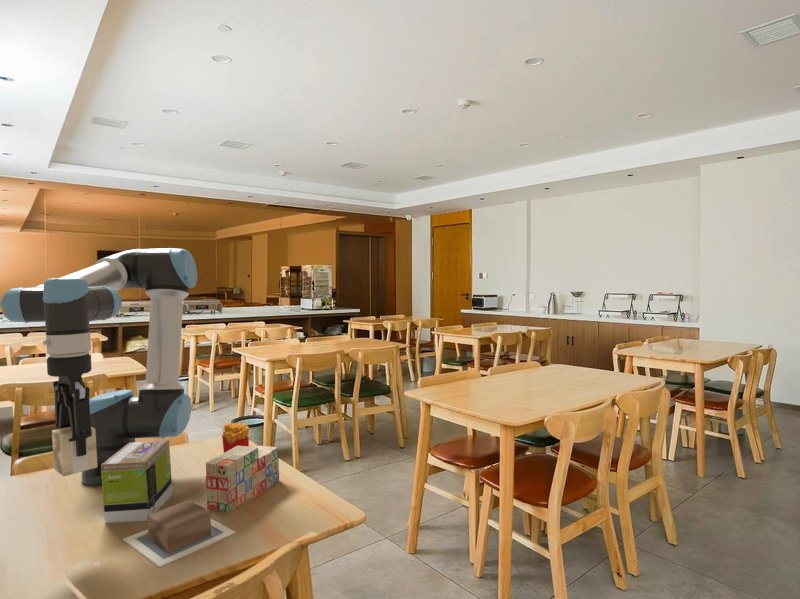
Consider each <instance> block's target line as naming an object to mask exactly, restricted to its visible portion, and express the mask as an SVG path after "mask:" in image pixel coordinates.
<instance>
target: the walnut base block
mask: <svg viewBox="0 0 800 599" xmlns="http://www.w3.org/2000/svg"><path fill="white" fill-rule="evenodd" d="M211 519H212V517H211V510H210V509H209V510H208V509H207V508H206V507H204V506H201V505H199V504H197V503H195V502H194V501H192V500H190V499H188V500H185V501H181V502H179V503H177V504H174V505H171V506H169V507H166V508H163V509H159V510H158V511H157V512H154V513H152V514H149V515H147V520H148V521H147V529H148V539H150V540H151V541H152V542H154V543H155V544H157V545H158V546H160V547H161V548H162V549H164V550H165V551H167V552H168V553H171V552H173V551H175V550H177V549H180V548H182V547H184V546H187V545H189V544H191V543H194V542H196V541H198V540H200V539H203V538H205V537H207V536H210V535H211Z"/></svg>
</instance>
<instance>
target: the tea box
mask: <svg viewBox="0 0 800 599" xmlns="http://www.w3.org/2000/svg"><path fill="white" fill-rule="evenodd" d="M171 464H172V463H171V452H170V440H169V439H165V440H152V441H151V440H150V441H135V442H130V443H128V444H127V445H126V446H124V447H123V448H122V449H121V450H119V451H118V452H117V453H115V454H114V455H113V456H112V457H110V458H109V459H108V460H107V461H105V462H104V463H103V464H101V476H102V485H101V487H102V488H101V489H102V500H103V501H102V502H103V513H104V514H103V517H104V523H105V524H113V523H114V524H115V523H128V522H129V523H131V522H146V521H147V522H148V520H147V515H149V514H152V513H154V512H157V511H160V510H161V508H162V507H163V506H164V504H165V503H166V502H167V501H168V500H170V499H171V498H172V497H173V495H174V494H173V481H172V478H173V477H172V465H171Z"/></svg>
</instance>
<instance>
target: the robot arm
mask: <svg viewBox="0 0 800 599" xmlns="http://www.w3.org/2000/svg"><path fill="white" fill-rule="evenodd" d="M197 270H198V269H197V264H196V262H195V259H194V256H193V255H192V253H191V252H190V251H189V250H187V249H185V248H174V247H170V248H169V247H168V248H166V247H165V248H134V249H129V250H124V251H120V252H117V253H114V254H112V255H108V256H105V257H102V258H100V259H98V260H96V261H95V263H94V264H93V265H92V266H89V267H85V268H83V269H81V270H78V271H75V272H72V273H70V274H66V275H64V276H61V277H57V278H55V277H53V278H50V277H49V278H47V279H46V280H45V281H44V282H43V283H41V284H38V285H35V286H32V287H24V286H22V287H21V286H20V287H16V288H15V287H14V288H10V289H8V290H7V291H5V292H4V294H3V295H2V297H1V301H0V307H1V312H2V314H3V316H4V317H5V319H7V320H8V321H10V322H14V323H16V322H17V323H19V322H20V323H24V324H26V323H27V324H28V323H42V322H43V323H45V324H44V326H45V339H43V341H42V345H44V346H46V354H47V355H49V356H47V358H46V370H47V373H46V374H47V375H48V376H49V377H54V378H55V377H56V378H57V377H58V379H57V380H56V381H53V383H52V386H53V390H54V392H53V393H54V416H55V417H54V418H55V419H54V420H55V421H54V422H55V424H54V427H55V428H56V429H62V428H66V427H71V431H72V438H71V439H68V440H69V442H71V457H72V473H75V474H78V473H77V472H79V473H81V482H82V484H84V485H87V486H95V487H96V486H97V487H98V486H102V476H101V464H103V463H104V462H105V461H107V460H108V459H109V458H110V457H112V456H113V455H114V454H115V453H117V452H118V451H119V450H121V449H122V448H123V447H124V446H126V445H127V444H128V443H130V442H136V439H156V438H157V439H166V438H175V437H178V436H181V434H183V432H184V431H185V429H186V428H187V426H188V424H189V422H190V418H191V414H192V406H193V404H192V398H191V397H190V396H189V394H187V393H185V387H184V386H183V385H182V384H181V383H180V371H181V370H180V368H181V367H180V366H181V350H182V349H181V348H182V347H181V346H182V330H183V329H182V326H183V308H184V307H183V306H184V300H185V299H186V298H188V296H189V295H190V289H192V288H195V287H196V286H197V282H198V271H197ZM122 289H123V290H124V289H145V290H144V291H145V292H144V293H145V294H146V296H148V297H149V299H150V302H149V303H150V306H149V307H150V308H149V321H148V338H147V339H148V340H147V354H146V355H147V356H146V370H145V371H146V373H145V374H146V375H145V382H144V384H143V385H142V386H141V387H140V388H138V395H134V394H135V393H134V390H132V389H120V390H116V391H110V392H106V393H102V394H99V395H96V396H93V397H92V398H90V391H91V390H90V388H89V386H86V384H85V382H84V380H83V377H82V376H83V375H84V374H88V373H89V372H91V371H92V370H93V369H92V368H93V367H92V355H91V354H90V353H89V352H90V351H92V342H91V340H92V339H91V331H90V322H95V321H106V320H107V319H110V318H113V317H115V316H116V315H118V314H119V312H120V311H121V309H122V305H123V304H122V303H123V301H122V297H121V295H120V293H119V292H118V291H120V290H122ZM91 427H93V428H95V432H96V450H97V468H93V469H89V463H88V443H87V438H88V437H90V436H92V432H91ZM88 469H89V470H88ZM85 470H86V471H85ZM81 471H82V472H81Z"/></svg>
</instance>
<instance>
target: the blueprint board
mask: <svg viewBox="0 0 800 599" xmlns="http://www.w3.org/2000/svg"><path fill="white" fill-rule="evenodd" d="M234 535H236V531H234V530H233V529H231V528H230V527H227V526H225V525H223V524H222V523H220V522H218V520H215V519H214V518H211V535H210V536H207V537H205V538H203V539H200V540H198V541H196V542H194V543H191V544H189V545H187V546H184V547H182V548H180V549H177V550H175V551H173V552H171V553H168V552H167V551H165V550H164V549H162V548H161V547H160V546H158V545H157V544H155V543H154V542H152V541H151V540H150V539H148V528H147V529H145V530H142V531H140V532H138V533H135V534H132V535H130V536H127V537H124V538H123V541H124V542H125V543H126V544H128V545H129V546H130V547H132V549H134V550H135V551H137V552H138V553H139V554H141V555H142V557H145V558H146V559H147V560H149V561H150V562H151V563H153V564H154V565H155V566H157V567H158V568H159V569H160V568H162V567H165V566H167V565H169V564H171V563H174V562H175V561H177V560H180V559H182V558H185V557H187V556H189V555H191V554H194V553H195V552H197V551H200V550H201V549H202V550H203V549H205V548H207V547H209V546H211V545H213V544H215V543H218V542H220V541H221V540H224V539H226V538H229V537H231V536H234Z"/></svg>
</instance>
